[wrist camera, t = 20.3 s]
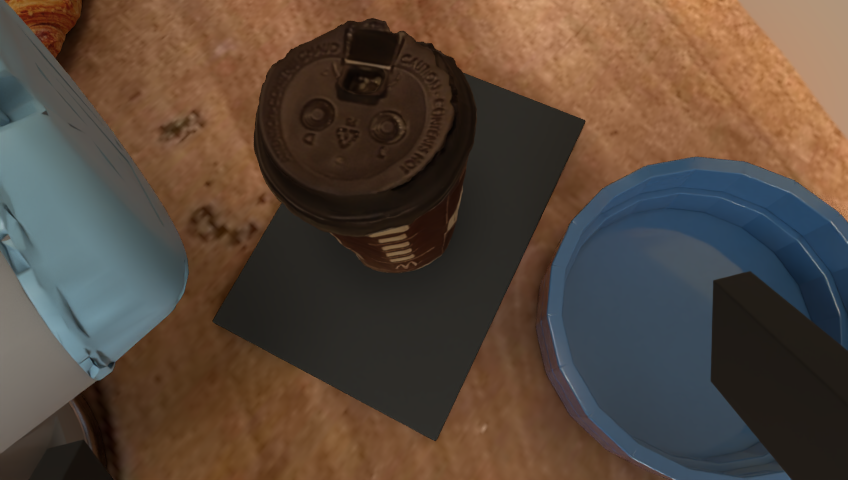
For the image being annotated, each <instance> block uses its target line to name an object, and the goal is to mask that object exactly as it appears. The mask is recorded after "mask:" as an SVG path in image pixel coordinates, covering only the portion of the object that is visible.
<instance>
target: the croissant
mask: <svg viewBox="0 0 848 480" xmlns="http://www.w3.org/2000/svg"><path fill="white" fill-rule="evenodd" d="M4 1H5V2H6V3H7V4H8V5H9V6H10V7H11V8H12V9H13V10H14V11H15V12H16V14H17V15H18V16H19V17H20V18H21V19H22V20H23V21H24V23H25V24H26V25H27V26H28V27H29V28H30V29H31V30H32V32H33V33H34V34H35V35H36V36H37V37H38V39H39V40H40V41H41V42H42V43H43V44H44V46H45V47H46V48H47V49H48V50H49V52H50V53H51V54H52V55H53V56H54V58H56V56H57V55H58V54H59V52H60V51H61V47H62V43H63V42H64V41H65V35H66V34H67V33H68V32H69V31H70V30H71V28H72V27H74V25H75V24H76V21H77V19H78V18H79V17H80V13H81V8H82V0H4Z"/></svg>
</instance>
